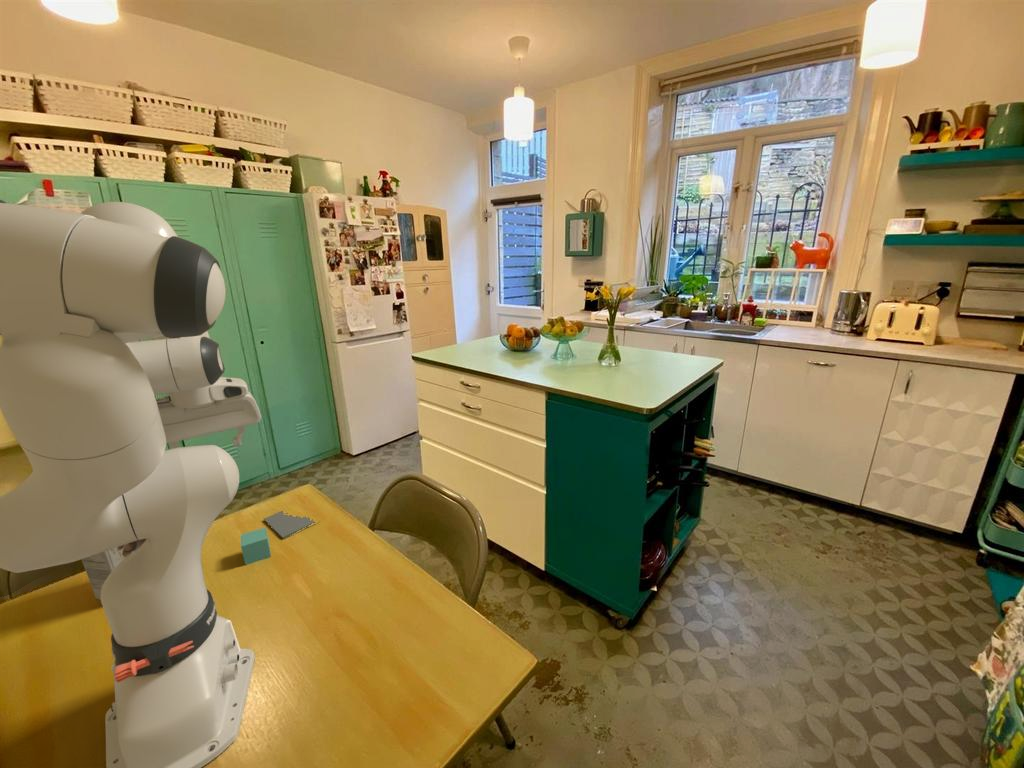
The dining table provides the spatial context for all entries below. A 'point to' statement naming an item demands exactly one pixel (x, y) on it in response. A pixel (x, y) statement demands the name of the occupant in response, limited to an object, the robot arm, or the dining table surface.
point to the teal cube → (255, 546)
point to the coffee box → (107, 564)
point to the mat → (287, 523)
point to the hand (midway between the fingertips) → (212, 451)
